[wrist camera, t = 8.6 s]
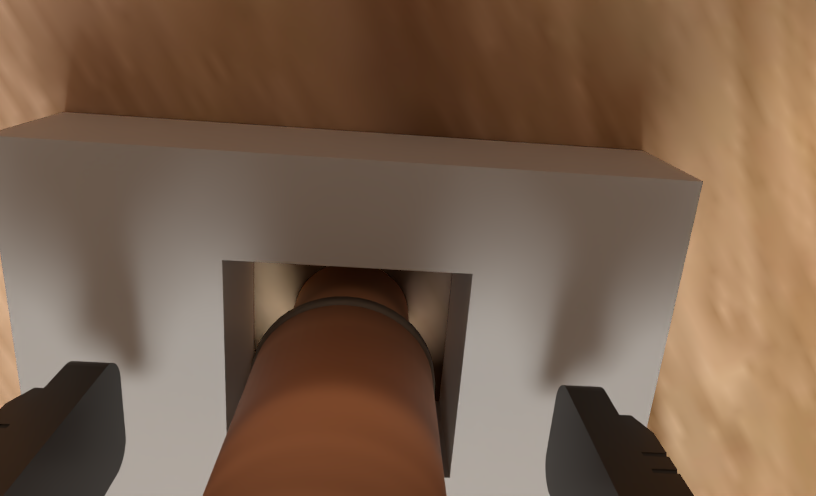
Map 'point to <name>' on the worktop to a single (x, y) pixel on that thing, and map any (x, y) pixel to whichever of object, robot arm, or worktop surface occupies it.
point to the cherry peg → (336, 399)
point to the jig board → (345, 247)
